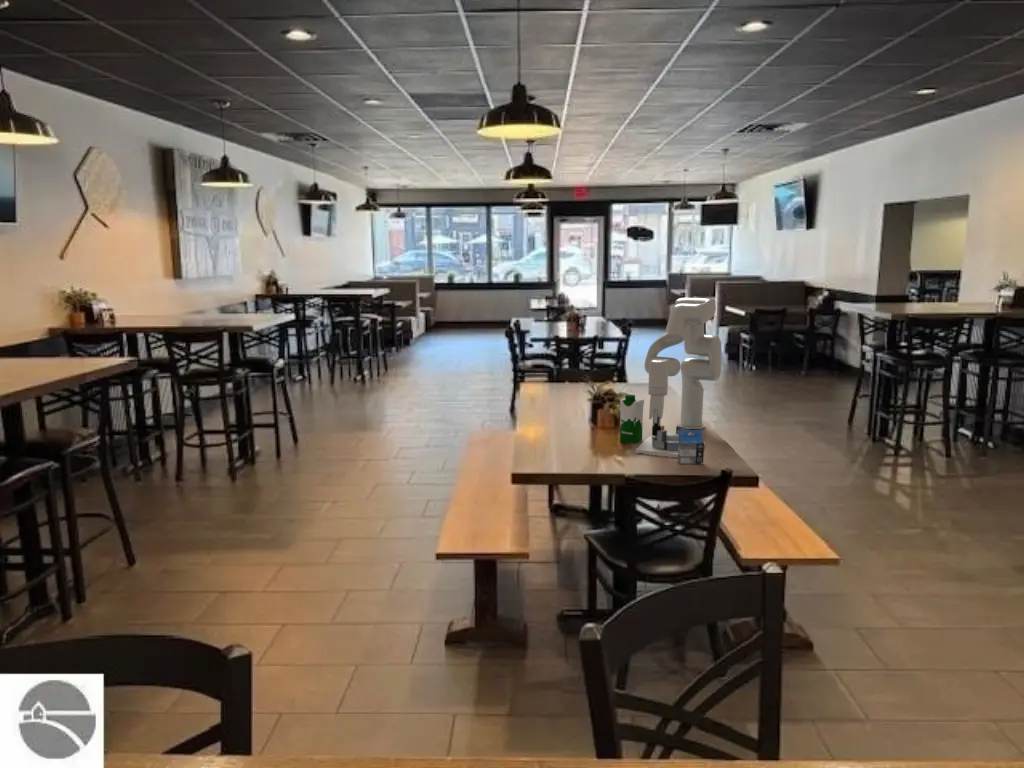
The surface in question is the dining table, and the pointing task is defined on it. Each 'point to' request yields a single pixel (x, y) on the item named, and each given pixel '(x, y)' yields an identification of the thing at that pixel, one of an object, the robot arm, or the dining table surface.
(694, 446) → the label tape cartridge
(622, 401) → the milk carton
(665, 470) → the dining table surface
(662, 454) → the cap base
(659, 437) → the ring nut
